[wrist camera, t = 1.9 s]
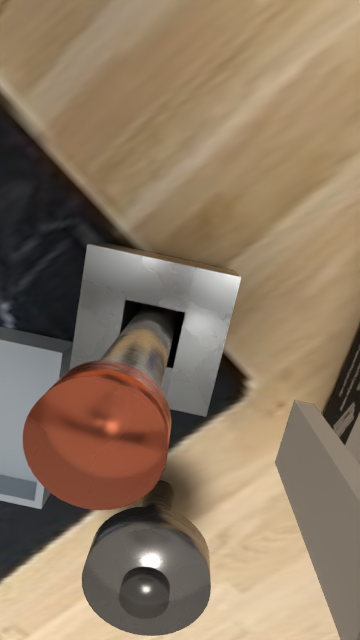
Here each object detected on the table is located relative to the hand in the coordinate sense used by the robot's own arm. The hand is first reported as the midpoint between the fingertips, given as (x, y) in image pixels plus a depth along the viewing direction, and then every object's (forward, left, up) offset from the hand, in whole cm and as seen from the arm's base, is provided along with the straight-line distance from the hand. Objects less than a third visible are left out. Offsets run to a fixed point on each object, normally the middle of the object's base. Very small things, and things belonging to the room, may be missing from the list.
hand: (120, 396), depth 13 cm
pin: (0, 0, -13) cm, 13 cm away
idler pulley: (+15, +3, -13) cm, 20 cm away
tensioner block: (0, 0, -13) cm, 13 cm away
